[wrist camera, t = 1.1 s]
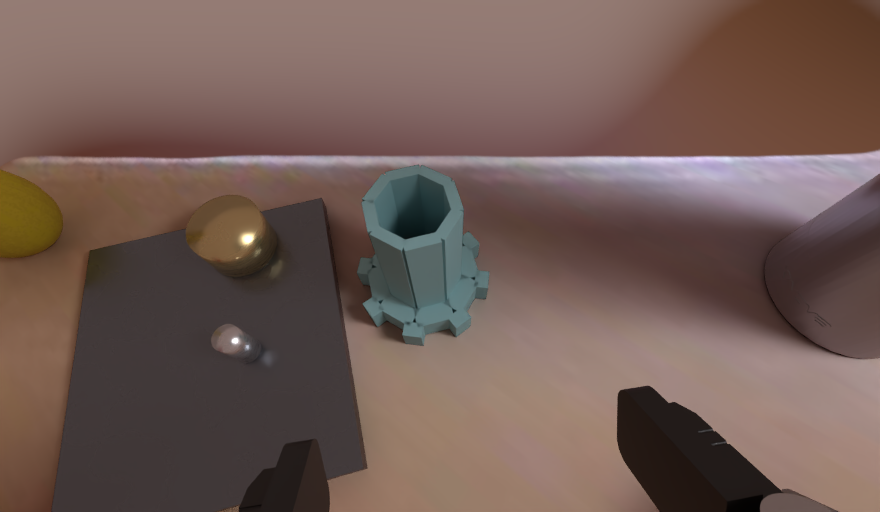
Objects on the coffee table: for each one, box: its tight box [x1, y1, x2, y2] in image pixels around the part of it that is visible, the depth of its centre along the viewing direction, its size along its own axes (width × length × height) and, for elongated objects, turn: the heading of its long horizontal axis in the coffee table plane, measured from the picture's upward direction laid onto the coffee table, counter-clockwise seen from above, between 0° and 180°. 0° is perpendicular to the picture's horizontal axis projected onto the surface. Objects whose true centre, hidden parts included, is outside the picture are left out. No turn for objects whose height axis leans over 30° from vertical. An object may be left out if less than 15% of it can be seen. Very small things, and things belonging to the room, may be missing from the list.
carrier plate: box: [51, 195, 367, 512], centre depth 26 cm, size 17×19×4 cm
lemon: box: [0, 170, 63, 258], centre depth 28 cm, size 6×6×8 cm
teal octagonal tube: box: [357, 165, 489, 346], centre depth 25 cm, size 9×9×10 cm
